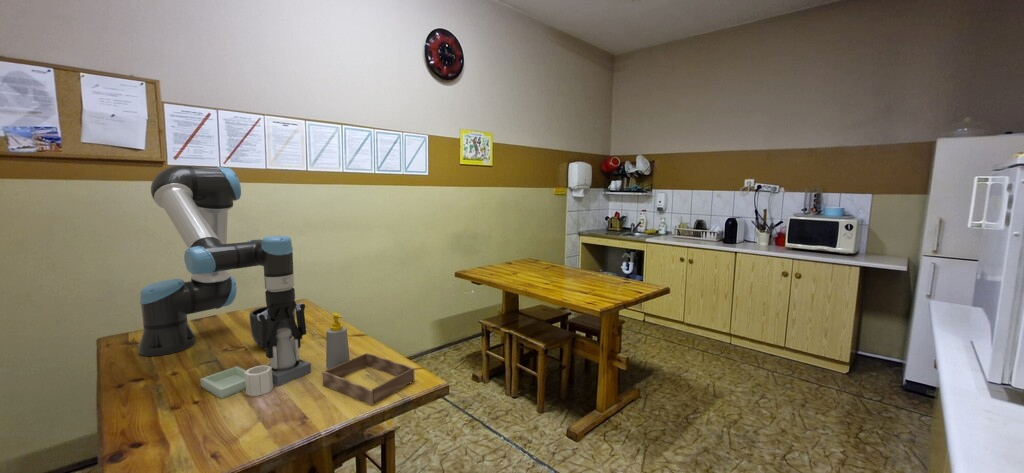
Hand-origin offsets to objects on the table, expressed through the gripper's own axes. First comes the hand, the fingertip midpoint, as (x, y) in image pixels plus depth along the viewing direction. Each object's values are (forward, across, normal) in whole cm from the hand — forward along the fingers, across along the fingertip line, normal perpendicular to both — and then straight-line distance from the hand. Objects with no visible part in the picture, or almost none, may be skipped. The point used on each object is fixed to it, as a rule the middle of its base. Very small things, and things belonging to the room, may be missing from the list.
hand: (284, 363), depth 121 cm
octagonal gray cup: (+4, -9, -3) cm, 10 cm away
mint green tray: (+4, -12, +7) cm, 14 cm away
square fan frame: (+4, 0, 0) cm, 4 cm away
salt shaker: (+3, 0, 0) cm, 3 cm away
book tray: (+4, +10, -26) cm, 28 cm away
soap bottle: (+4, +11, -10) cm, 15 cm away
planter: (+4, +11, +26) cm, 28 cm away
